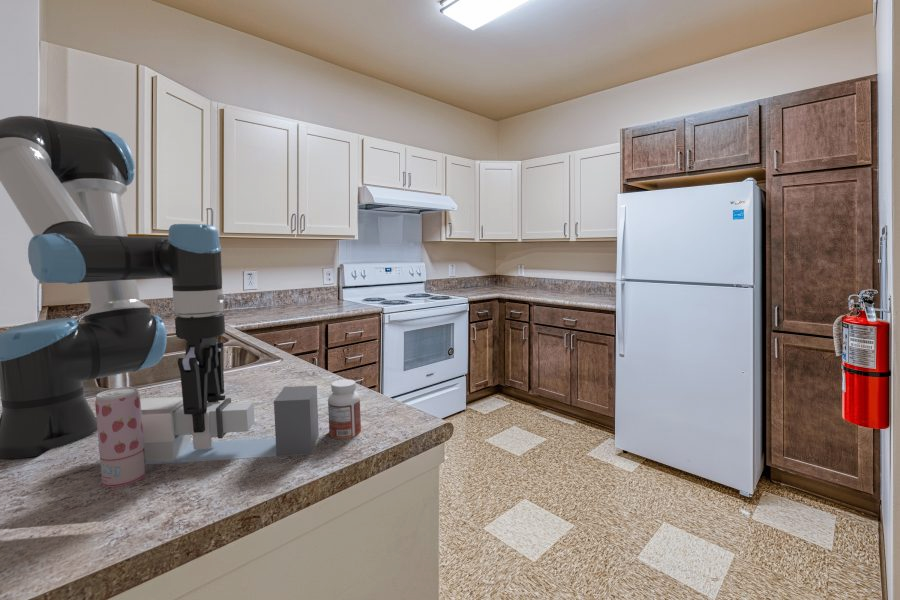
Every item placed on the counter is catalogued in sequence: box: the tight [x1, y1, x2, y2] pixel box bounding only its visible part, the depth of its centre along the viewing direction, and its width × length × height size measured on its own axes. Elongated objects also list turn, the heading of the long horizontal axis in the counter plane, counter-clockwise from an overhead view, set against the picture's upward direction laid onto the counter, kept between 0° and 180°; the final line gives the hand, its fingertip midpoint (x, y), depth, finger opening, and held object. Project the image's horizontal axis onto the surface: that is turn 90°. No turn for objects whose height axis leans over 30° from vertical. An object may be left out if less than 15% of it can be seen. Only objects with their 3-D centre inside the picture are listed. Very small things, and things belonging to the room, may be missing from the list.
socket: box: [273, 385, 320, 457], centre depth 81 cm, size 6×8×10 cm
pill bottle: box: [327, 379, 362, 439], centre depth 87 cm, size 6×6×11 cm
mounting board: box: [146, 435, 319, 466], centre depth 80 cm, size 32×8×1 cm, turn 98°
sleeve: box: [140, 395, 192, 463], centre depth 77 cm, size 9×7×9 cm
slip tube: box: [173, 397, 256, 439], centre depth 78 cm, size 24×5×5 cm, turn 98°
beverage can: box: [94, 386, 147, 488], centre depth 69 cm, size 6×6×15 cm
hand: (208, 441), depth 79 cm, fingers closed on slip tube, 4 cm apart
